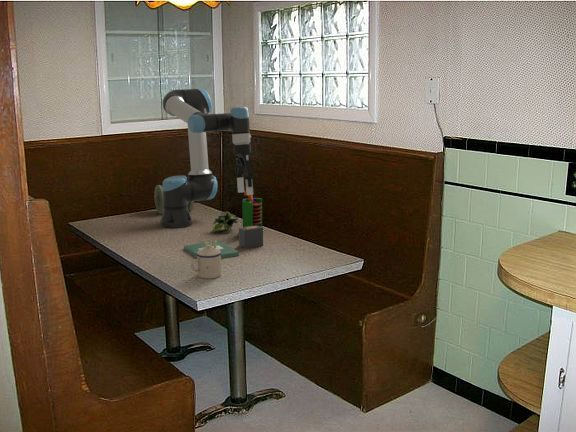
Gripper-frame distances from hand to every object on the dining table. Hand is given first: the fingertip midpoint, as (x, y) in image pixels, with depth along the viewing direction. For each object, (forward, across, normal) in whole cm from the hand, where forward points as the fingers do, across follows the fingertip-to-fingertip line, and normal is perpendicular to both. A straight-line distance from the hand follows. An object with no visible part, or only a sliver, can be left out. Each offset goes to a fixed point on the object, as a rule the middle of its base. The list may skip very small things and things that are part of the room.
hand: (245, 193), depth 275 cm
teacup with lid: (+26, -34, +27) cm, 51 cm away
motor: (+21, +18, -7) cm, 28 cm away
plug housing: (+22, -2, 0) cm, 23 cm away
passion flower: (+20, +25, +4) cm, 32 cm away
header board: (+22, -5, +18) cm, 29 cm away
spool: (+14, +74, +19) cm, 77 cm away
